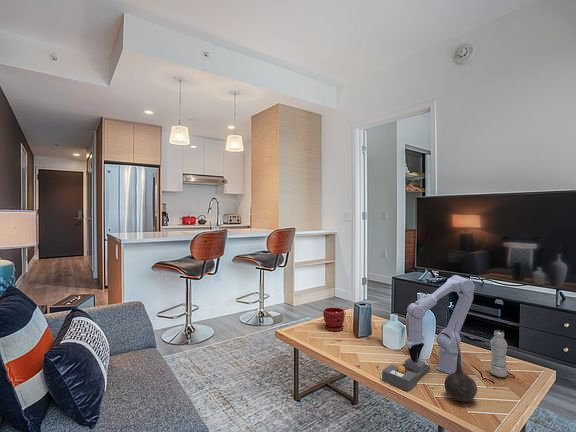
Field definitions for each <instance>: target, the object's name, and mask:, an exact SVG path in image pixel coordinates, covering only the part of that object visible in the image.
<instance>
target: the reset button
mask: <svg viewBox="0 0 576 432" xmlns="http://www.w3.org/2000/svg"><path fill="white" fill-rule="evenodd" d="M402 365H403V364H400V365H399V364H398V365H397V367H398V372H399V373H402V374H404V373H405V367H404V366H402Z"/></svg>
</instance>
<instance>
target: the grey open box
mask: <svg viewBox="0 0 576 432" xmlns="http://www.w3.org/2000/svg"><path fill="white" fill-rule="evenodd" d="M381 372H382V373H381V381H382V382H384V383H387V384H389V385H392V386H395V387H396V388H398V389H400V390H401V389H402V390H404V391H406V392H410V391H411V390H412V389H414V388H415V387H417V386H418V382H417V374H416V373H413V372H410V371H408V370H405V373H404V374H402V373H399V372H398V365H394V364H389V365H388V366H386V367H385V368H384V369H382V370H381Z"/></svg>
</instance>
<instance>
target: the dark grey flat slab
mask: <svg viewBox="0 0 576 432" xmlns="http://www.w3.org/2000/svg"><path fill="white" fill-rule="evenodd" d="M401 365H402V366H404V367H405V362H404V363H402V364H401ZM405 370H408V371H410V372H413V373H416V374H417V383H418V382H419V381H420V380H421V379H422V378H423V377H425V376H426V375H427V374H428V373H430V372H431V365H429V364H427V363H425V368H424V369H423V370H422V371H420V372H416V371H413V370H411V369H408V368H405Z"/></svg>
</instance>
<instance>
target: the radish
mask: <svg viewBox="0 0 576 432" xmlns="http://www.w3.org/2000/svg"><path fill="white" fill-rule="evenodd" d="M458 320H459V319H458ZM457 322H458V321H457ZM457 322H456V323H457ZM455 327H456V324H455ZM454 334H455V328H454ZM455 337H456V335H455ZM456 341H457V348H458V352H457V353H458V356H457V368H456V371H455V372H454V373H452V374H448V375H447V376H446V378H445V380H444V389H445V392H446V394H447V395H448V396H449V397H451V398H452V399H453V400H455V401H458V402H464V403H465V402H469V401H472V400H473V399H475V397H476V396H477V393H478V386H477V383H476V381H475V380H474V379H473V378H472V377H470V376H469V375H468V374H466V373H465V372H464V370H463V365H462V366H461V355H462V354H461V353H462V351H461V346H460V347H459V343H458V340H457V337H456Z"/></svg>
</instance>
